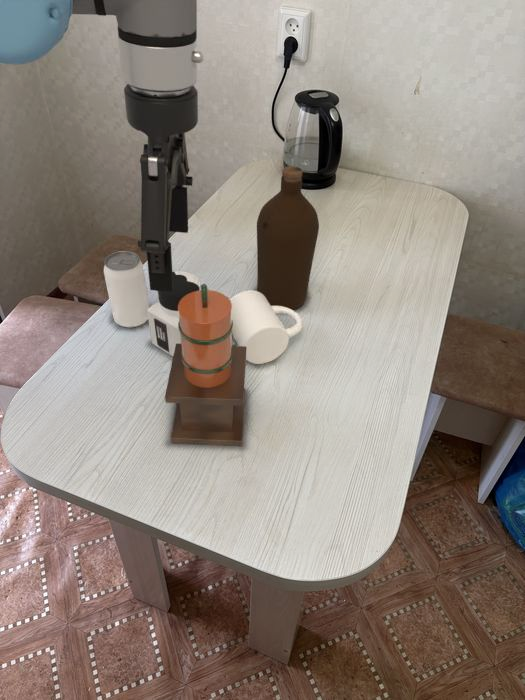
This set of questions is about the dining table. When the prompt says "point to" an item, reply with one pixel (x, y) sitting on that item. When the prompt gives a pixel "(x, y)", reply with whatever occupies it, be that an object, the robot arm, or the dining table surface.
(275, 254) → the olive oil
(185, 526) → the dining table surface
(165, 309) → the container
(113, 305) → the can
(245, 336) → the mug
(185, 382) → the stand
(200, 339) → the banded candle
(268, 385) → the dining table surface
